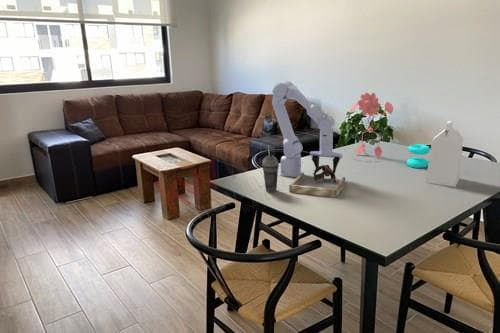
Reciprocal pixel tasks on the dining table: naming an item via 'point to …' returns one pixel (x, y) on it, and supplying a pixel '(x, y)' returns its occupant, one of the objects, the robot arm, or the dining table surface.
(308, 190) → the wooden tray
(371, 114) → the pink flower ornament
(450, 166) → the milk
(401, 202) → the dining table surface
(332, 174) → the brown piece
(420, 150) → the donuts
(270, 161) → the beverage cup
